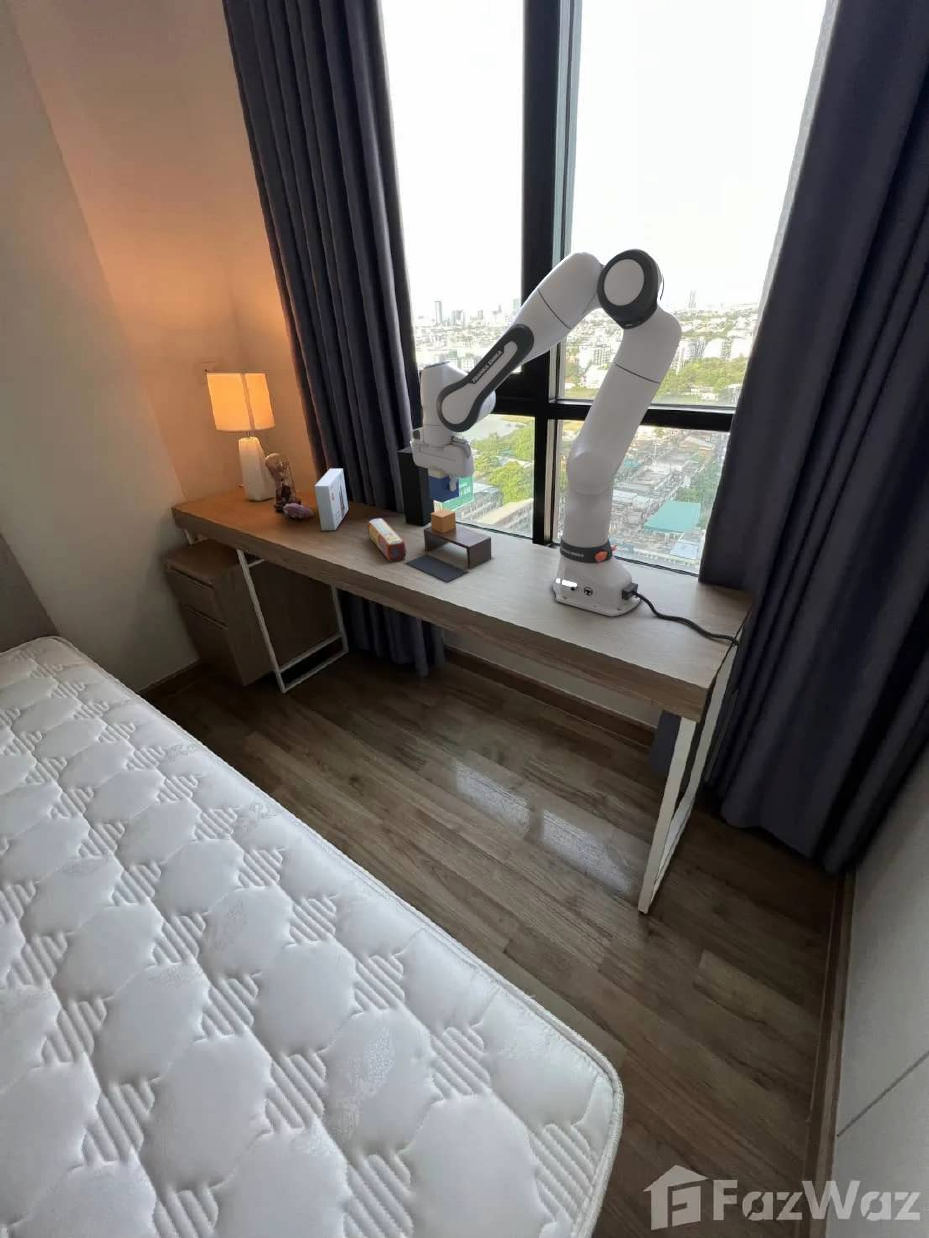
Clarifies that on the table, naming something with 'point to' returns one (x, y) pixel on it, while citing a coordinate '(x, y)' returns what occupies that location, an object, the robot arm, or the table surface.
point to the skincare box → (331, 499)
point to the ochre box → (443, 520)
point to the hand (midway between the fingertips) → (444, 487)
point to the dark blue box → (441, 486)
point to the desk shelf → (461, 543)
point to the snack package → (386, 539)
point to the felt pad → (437, 568)
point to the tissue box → (415, 489)
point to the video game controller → (297, 510)
